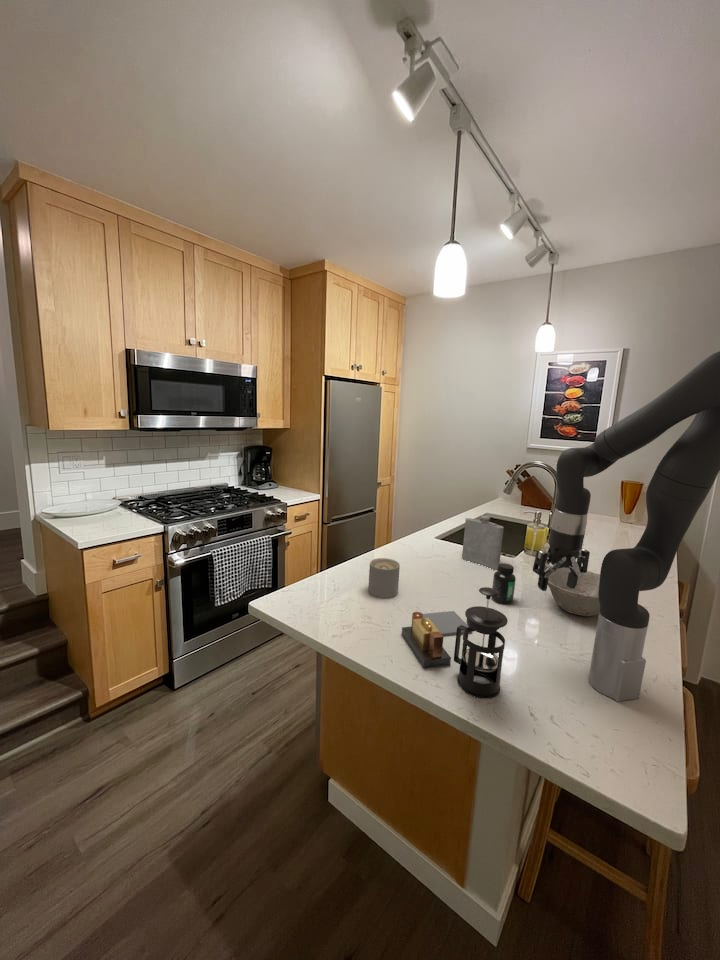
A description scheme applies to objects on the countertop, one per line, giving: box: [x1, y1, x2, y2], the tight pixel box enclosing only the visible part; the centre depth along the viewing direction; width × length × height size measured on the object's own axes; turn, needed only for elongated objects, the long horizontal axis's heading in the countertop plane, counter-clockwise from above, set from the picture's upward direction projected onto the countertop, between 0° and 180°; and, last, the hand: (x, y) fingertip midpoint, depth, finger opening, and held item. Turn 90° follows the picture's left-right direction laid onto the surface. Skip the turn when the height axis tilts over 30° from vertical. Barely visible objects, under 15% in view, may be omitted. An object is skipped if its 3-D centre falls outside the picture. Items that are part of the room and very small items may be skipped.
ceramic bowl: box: [545, 567, 600, 617], centre depth 130 cm, size 22×23×10 cm
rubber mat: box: [422, 610, 474, 637], centre depth 118 cm, size 11×11×1 cm
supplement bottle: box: [490, 562, 517, 606], centre depth 134 cm, size 7×7×12 cm
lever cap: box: [412, 618, 440, 650], centre depth 104 cm, size 7×4×6 cm, turn 15°
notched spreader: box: [461, 515, 504, 571], centre depth 164 cm, size 16×4×20 cm, turn 47°
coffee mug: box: [367, 557, 401, 600], centre depth 137 cm, size 13×10×10 cm
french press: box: [453, 586, 508, 699], centre depth 91 cm, size 12×9×23 cm
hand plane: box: [401, 611, 452, 669], centre depth 105 cm, size 15×7×8 cm, turn 15°
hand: (556, 588), depth 103 cm, fingers open, 8 cm apart
